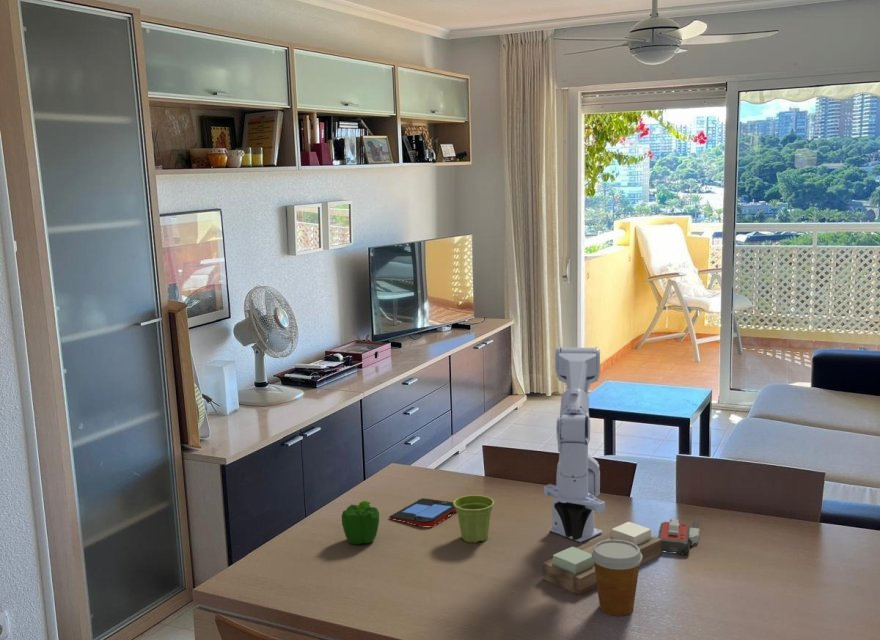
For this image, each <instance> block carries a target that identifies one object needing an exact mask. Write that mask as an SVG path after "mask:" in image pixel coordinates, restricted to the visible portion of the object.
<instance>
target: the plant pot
mask: <svg viewBox="0 0 880 640" xmlns="http://www.w3.org/2000/svg"><path fill="white" fill-rule="evenodd" d="M452 502H453V504H454V507H455V508H456V511H457V513H456V515H457V517H458V518H457V519H458V523H459V530H460V536H461V539H463V541H464V542H467V543H472V542H473V544H475V543H478V542H480V541H481V542H484V541H487V540H488V538H489V530H490V521H491V514H492V510H493V506H494V505H495V500H494V499H493V498H491V497H489V496H485V495H481V494H472V495H469V494H468V495H464V496H460V497H458V498H455V500H453V501H452Z"/></svg>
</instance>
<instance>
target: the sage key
mask: <svg viewBox="0 0 880 640" xmlns="http://www.w3.org/2000/svg"><path fill="white" fill-rule="evenodd" d="M552 558H553V565H554V566H556V567H559V568H561V569H563V570H566V571H568V572H570V573H573V574H575V575H576V574H578V573H580V572H583V571H585V570H587V569H589V568H591V567H593V566H595V565H594V561H593V558H592V556H591V554H590V553H588V552H585V551H583V550H580V549H578V548H577V547H575V546H570V547H568V548H565V549H564V550H561V551H558V552H556V553H554V554H553V555H552Z"/></svg>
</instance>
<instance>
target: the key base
mask: <svg viewBox="0 0 880 640" xmlns="http://www.w3.org/2000/svg"><path fill="white" fill-rule="evenodd" d="M604 540H614V539H612V531H611V532H609V533H606V534H604V535H602V536H599V537H597V538H595V539H593V540H590V541H588V542H586V543H583V544H581V545H579V546H577V547H576V548H578V549H580V550H583V551H585V552H588V553H590V554H591V552H592V551H593V549H594V546H595V545H596V543H598V542H600V541H604ZM661 542H662V539H659V538H658V537H655V536H653V535H651V539H650V540H648V541H646V542H643V543H641V544H639V545H637V546H638V547H639V549H640V552H641V554H642V556H643V557H642V560H641V563H640V565H639V566H641V565H643V564H646V563H647V562H650V561H651V560H653V559H655V558H657V557H659V556H661V555H662V552H661ZM660 554H661V555H660ZM541 566H542V580H545V581H547V582H549V583H552V584H553V585H555V586H558V587H561V588H562V589H565V590H567V591H569V592H572V593H574V594H576V595H579V596H582V595H584V594H586V593H588V592H590V591H591V590H594V589H595V588H597V581H596V574H595V573H596V572H595V566H593V567H591V568H589V569H587V570H585V571H583V572H580V573H578V574H576V575H575V574H573V573H570V572H568V571H566V570H563V569H561V568H559V567H556V566H554V565H553V557H552V558H550V559H548V560H546V561H543V562H542V565H541Z"/></svg>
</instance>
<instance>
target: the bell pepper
mask: <svg viewBox="0 0 880 640" xmlns="http://www.w3.org/2000/svg"><path fill="white" fill-rule="evenodd" d="M370 504H371V502H370V501H369V500H362V501H360V502H359V504H358V505H357V504H350V505H349V506H348V507H346V509H345V510H343V511H342V514H341V526H342V529H343V532H344V535H345V538H346V540H347V541H348V543H350V544H351V545H362V544H370V543H373V542H374V541H375V539H376V536H377V535H378V534H377V533H378V530H379V529H378V528H379V525H380V524H379V523H380V511H379V510H378V508H377V507H374V506H373V507H372V506H371V505H370Z"/></svg>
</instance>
